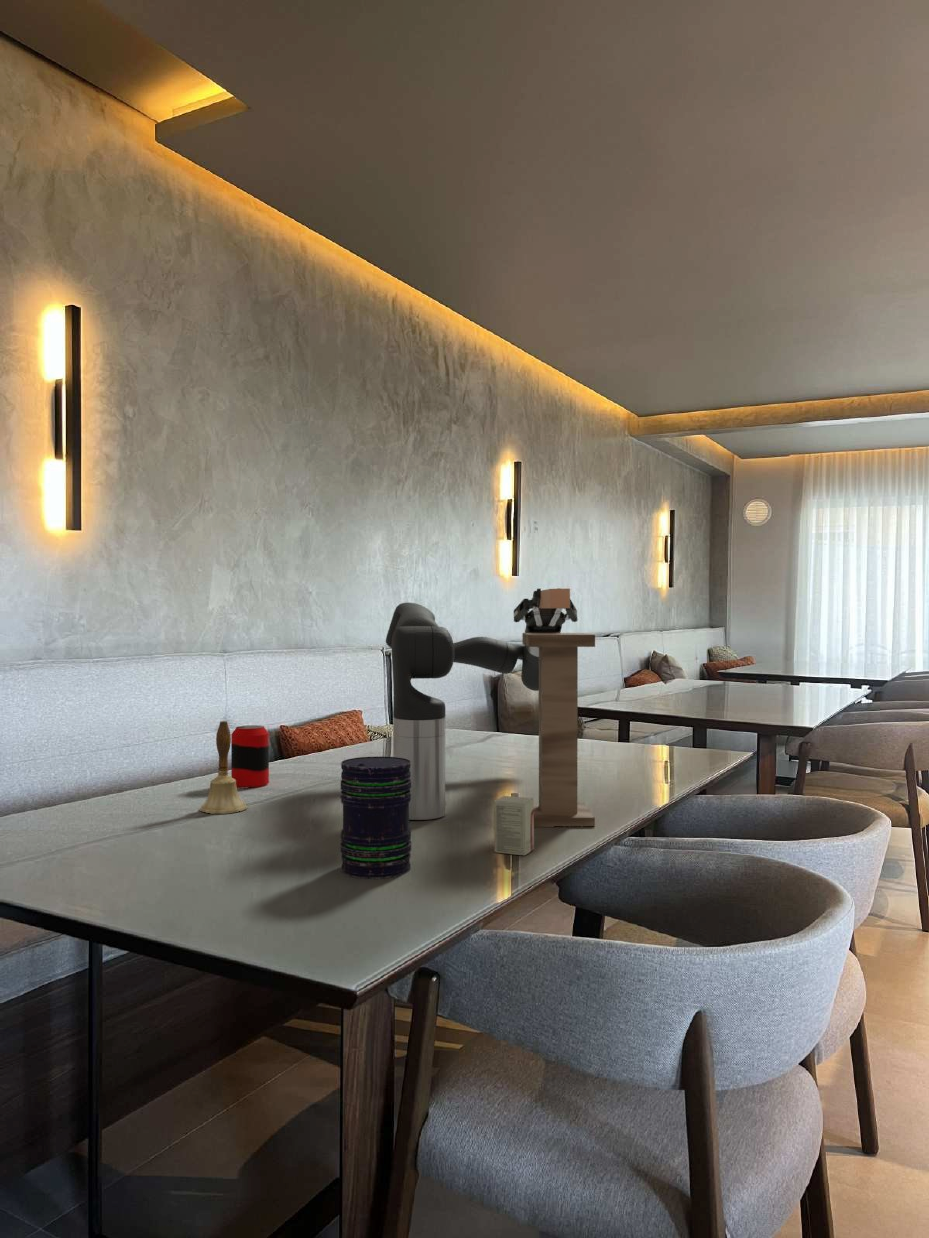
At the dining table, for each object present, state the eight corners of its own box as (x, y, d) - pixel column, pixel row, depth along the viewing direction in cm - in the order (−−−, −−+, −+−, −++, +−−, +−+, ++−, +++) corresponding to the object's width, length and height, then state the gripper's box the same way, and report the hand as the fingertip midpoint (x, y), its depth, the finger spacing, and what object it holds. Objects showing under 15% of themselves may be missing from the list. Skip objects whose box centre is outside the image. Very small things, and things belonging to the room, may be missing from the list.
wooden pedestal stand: (594, 826, 157) (595, 634, 156) (528, 826, 156) (529, 634, 156) (582, 808, 171) (583, 632, 170) (522, 809, 170) (522, 632, 170)
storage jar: (376, 855, 138) (376, 754, 138) (426, 867, 132) (426, 760, 131) (325, 870, 130) (325, 762, 130) (376, 883, 124) (375, 770, 124)
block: (570, 608, 167) (569, 588, 167) (550, 608, 167) (550, 588, 167) (555, 608, 191) (555, 591, 191) (538, 608, 191) (538, 591, 191)
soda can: (230, 782, 197) (230, 725, 197) (267, 780, 199) (266, 724, 199) (232, 789, 190) (232, 729, 189) (270, 787, 192) (270, 728, 192)
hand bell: (196, 807, 172) (196, 720, 172) (241, 803, 176) (241, 718, 175) (203, 816, 165) (203, 725, 164) (251, 811, 168) (251, 722, 168)
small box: (535, 849, 141) (535, 797, 141) (525, 856, 138) (525, 802, 137) (503, 846, 143) (503, 794, 143) (493, 852, 140) (493, 799, 139)
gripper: (576, 648, 200) (586, 608, 185) (510, 649, 200) (514, 608, 185) (574, 618, 204) (583, 575, 189) (509, 618, 204) (513, 576, 189)
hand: (549, 592), depth 187 cm, fingers closed on block, 3 cm apart
